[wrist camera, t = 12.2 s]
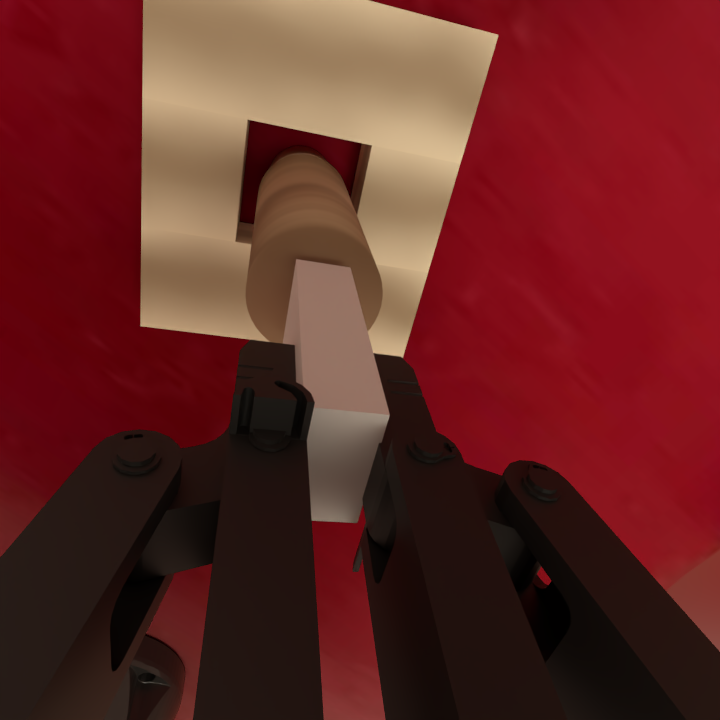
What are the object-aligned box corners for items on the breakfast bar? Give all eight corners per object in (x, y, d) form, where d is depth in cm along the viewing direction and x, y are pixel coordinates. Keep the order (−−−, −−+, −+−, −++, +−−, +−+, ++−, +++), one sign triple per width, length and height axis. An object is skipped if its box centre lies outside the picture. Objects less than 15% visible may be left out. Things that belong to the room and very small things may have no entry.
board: (393, 332, 33) (402, 358, 31) (152, 300, 30) (140, 326, 28) (476, 32, 25) (498, 35, 23) (159, -51, 22) (143, -60, 20)
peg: (331, 223, 29) (366, 362, 17) (256, 210, 28) (238, 347, 16) (346, 145, 27) (397, 243, 15) (265, 129, 26) (253, 219, 14)
